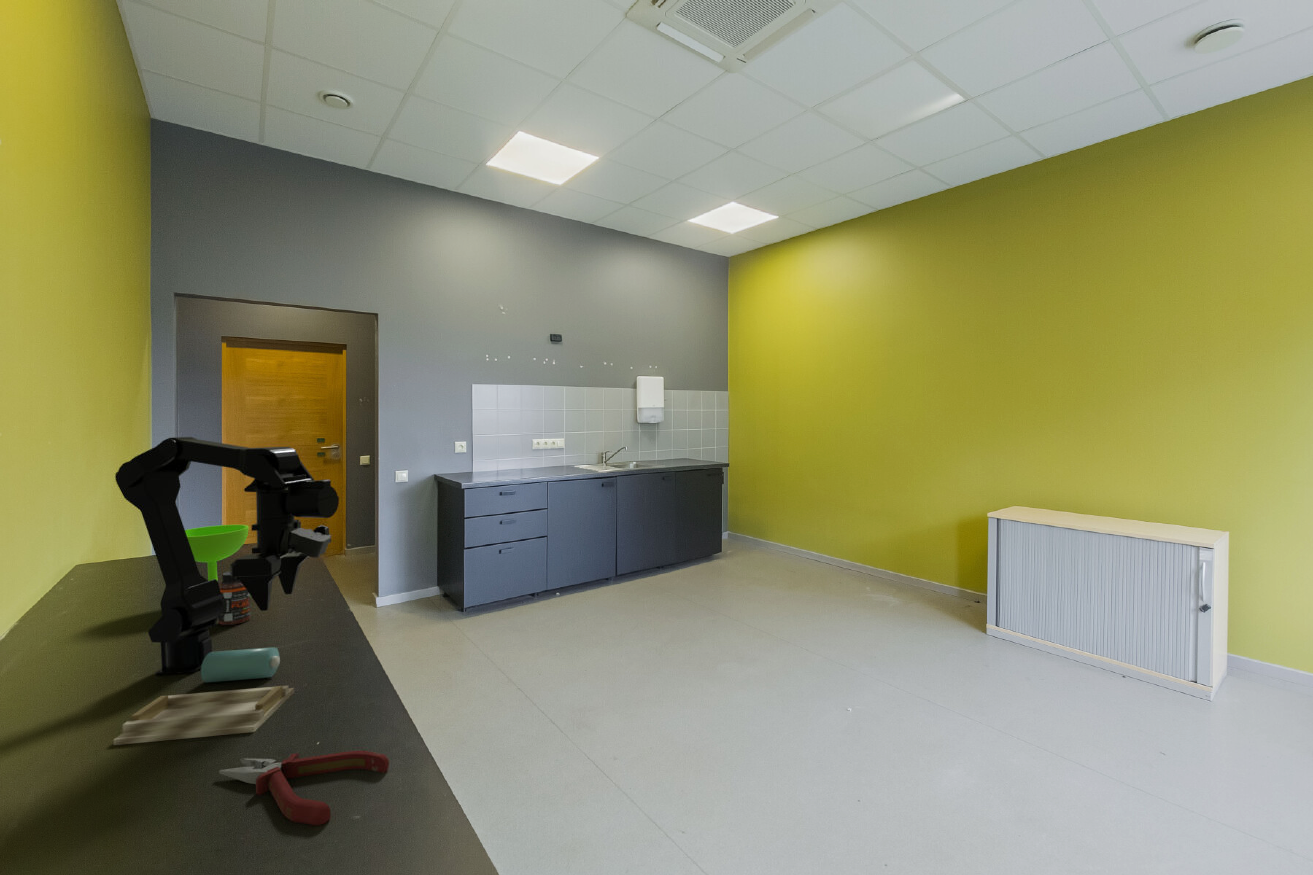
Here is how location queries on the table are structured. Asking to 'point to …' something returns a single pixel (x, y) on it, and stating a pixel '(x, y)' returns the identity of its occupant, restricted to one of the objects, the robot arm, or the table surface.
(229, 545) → the green tapered container
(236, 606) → the supplement bottle
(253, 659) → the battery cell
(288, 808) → the pliers
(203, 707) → the wooden tray
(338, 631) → the table surface
